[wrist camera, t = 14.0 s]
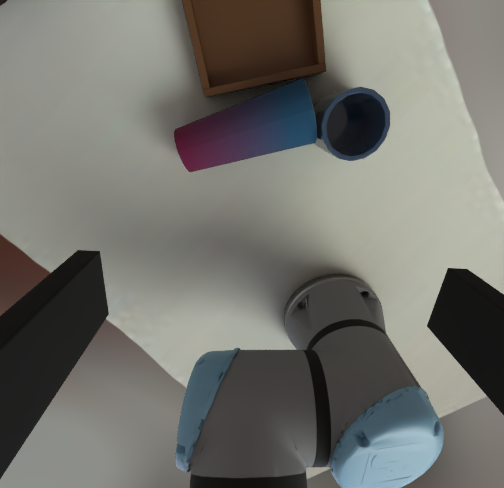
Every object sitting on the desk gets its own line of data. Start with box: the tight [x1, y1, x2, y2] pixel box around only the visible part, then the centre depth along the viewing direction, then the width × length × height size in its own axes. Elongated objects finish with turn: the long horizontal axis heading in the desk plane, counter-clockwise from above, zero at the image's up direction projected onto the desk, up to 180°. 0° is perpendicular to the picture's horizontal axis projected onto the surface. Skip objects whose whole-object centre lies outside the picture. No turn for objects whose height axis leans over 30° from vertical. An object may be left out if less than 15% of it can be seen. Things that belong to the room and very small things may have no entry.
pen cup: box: [314, 87, 390, 161], centre depth 35 cm, size 7×7×7 cm
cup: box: [174, 79, 317, 172], centre depth 35 cm, size 7×7×15 cm
